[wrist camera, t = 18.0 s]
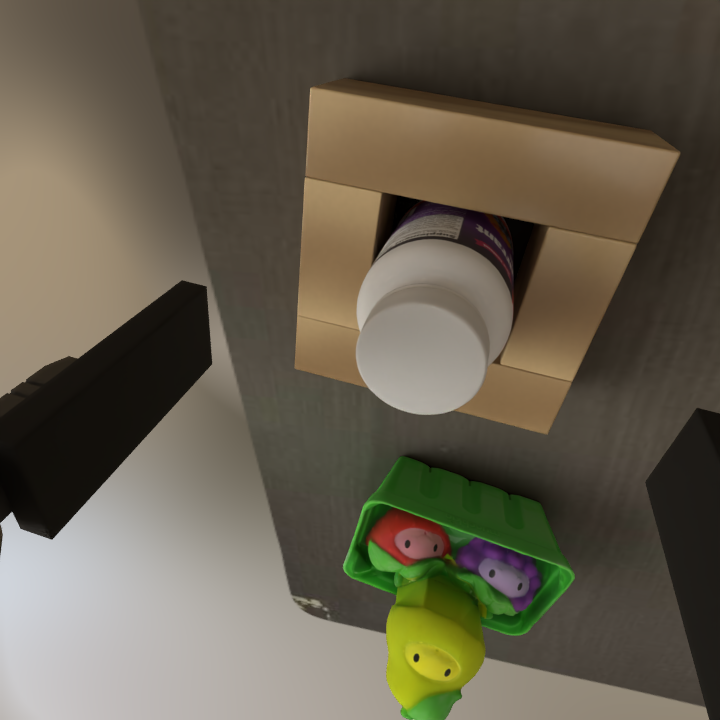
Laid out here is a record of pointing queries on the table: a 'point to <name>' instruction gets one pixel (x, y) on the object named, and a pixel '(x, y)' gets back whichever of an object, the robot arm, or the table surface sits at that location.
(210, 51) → the table surface
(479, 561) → the fruit basket
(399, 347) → the pill bottle
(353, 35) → the table surface
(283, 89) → the table surface
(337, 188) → the block
